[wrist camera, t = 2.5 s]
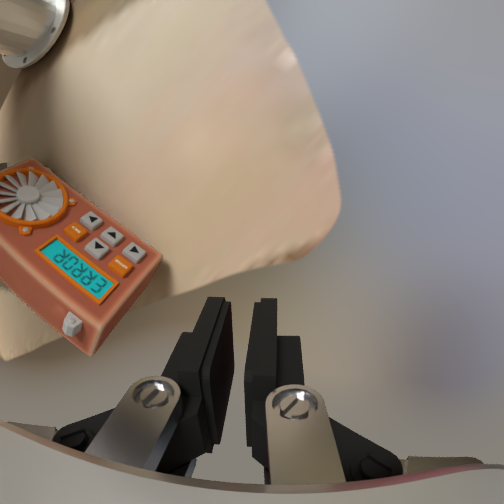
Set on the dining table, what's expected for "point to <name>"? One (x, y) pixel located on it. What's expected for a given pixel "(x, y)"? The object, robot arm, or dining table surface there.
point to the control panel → (68, 256)
